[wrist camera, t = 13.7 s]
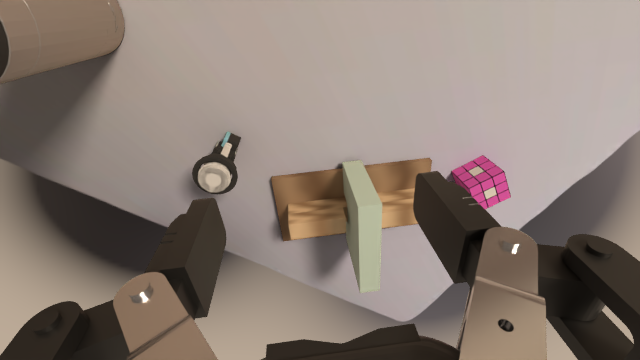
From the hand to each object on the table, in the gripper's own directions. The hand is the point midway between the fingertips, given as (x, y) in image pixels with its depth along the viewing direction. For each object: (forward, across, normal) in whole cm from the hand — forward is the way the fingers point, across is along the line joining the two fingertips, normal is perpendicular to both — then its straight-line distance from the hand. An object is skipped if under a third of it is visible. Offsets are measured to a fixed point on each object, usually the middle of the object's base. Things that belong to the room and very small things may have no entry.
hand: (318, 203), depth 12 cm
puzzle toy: (+32, -28, +21) cm, 48 cm away
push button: (+32, +12, +11) cm, 36 cm away
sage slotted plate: (+31, -7, +23) cm, 39 cm away
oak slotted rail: (+32, -7, +23) cm, 40 cm away
